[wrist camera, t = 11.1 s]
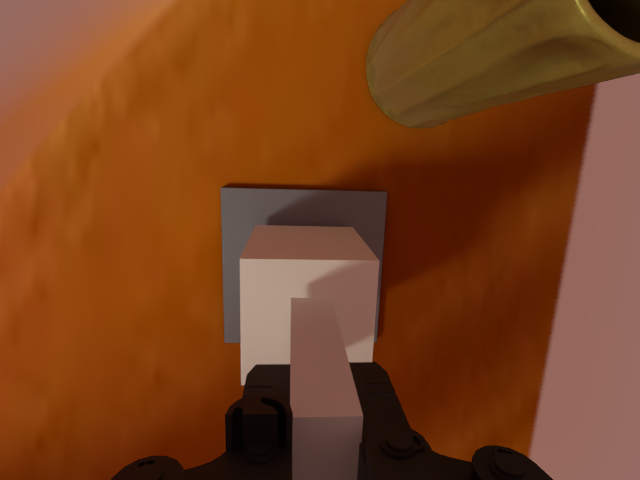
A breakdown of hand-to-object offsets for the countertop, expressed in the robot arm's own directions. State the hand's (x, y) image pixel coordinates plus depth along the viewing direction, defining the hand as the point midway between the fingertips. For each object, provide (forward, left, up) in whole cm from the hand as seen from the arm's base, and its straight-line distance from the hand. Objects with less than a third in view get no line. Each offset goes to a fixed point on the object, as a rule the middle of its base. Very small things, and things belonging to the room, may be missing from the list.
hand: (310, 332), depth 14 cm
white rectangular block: (0, 0, -7) cm, 7 cm away
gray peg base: (0, 0, -8) cm, 8 cm away
